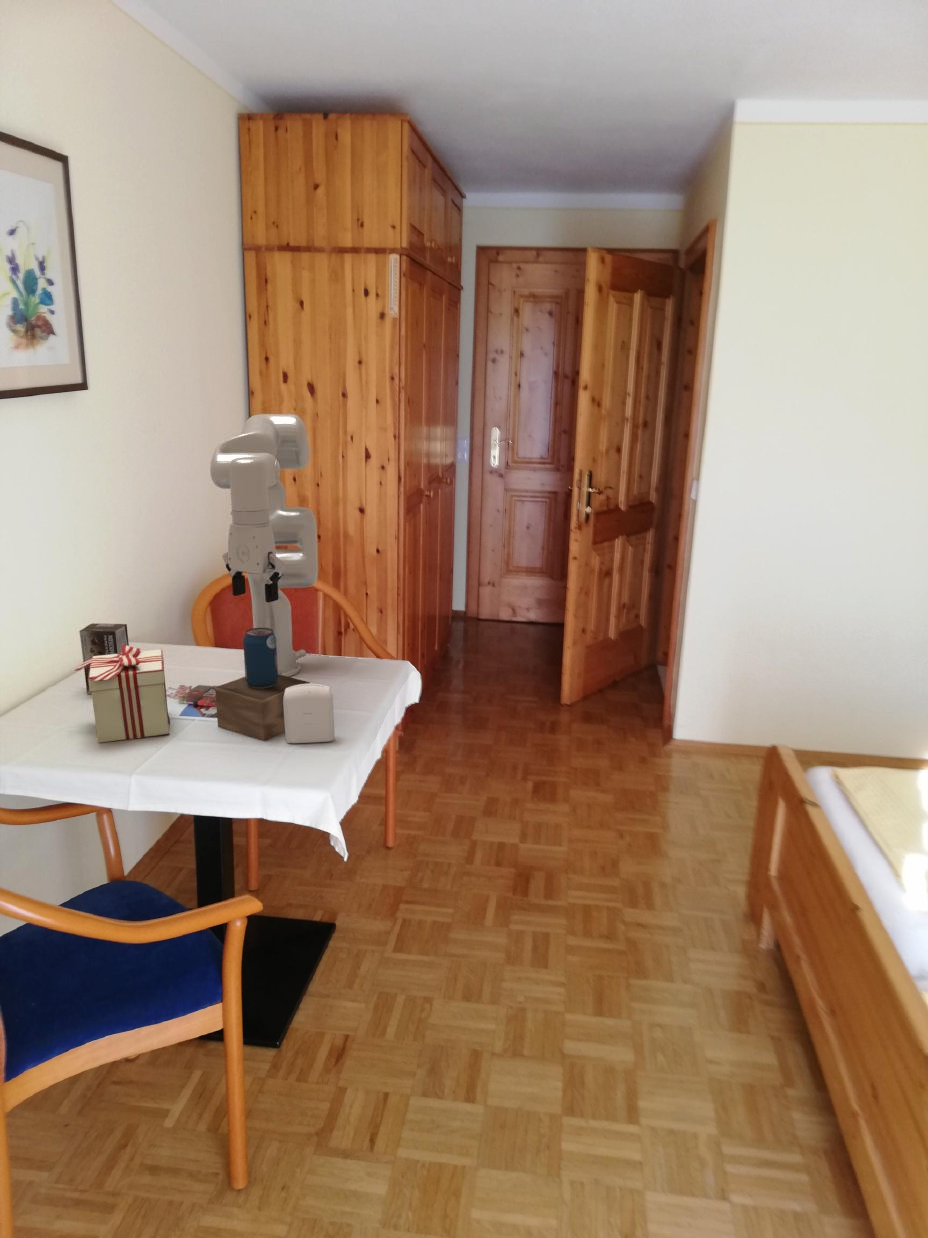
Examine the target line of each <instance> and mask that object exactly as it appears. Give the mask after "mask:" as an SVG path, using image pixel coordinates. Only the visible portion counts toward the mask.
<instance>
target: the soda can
mask: <svg viewBox="0 0 928 1238" xmlns="http://www.w3.org/2000/svg"><path fill="white" fill-rule="evenodd" d="M242 641H243V642H242V643H243V662H244V677H245V680H246V682H247V683H248V685H249V686H250V687H252V688H257V689H262V688H269V687H272V686H274V685H275V683H276V682H277V680H278V664H277V645H276V637H275V635H274V633H273V630H272V629H270V628H253V627H252V628H249V629H247V630H246V631H245V635H244V637H243V640H242Z"/></svg>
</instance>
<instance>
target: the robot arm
mask: <svg viewBox="0 0 928 1238" xmlns="http://www.w3.org/2000/svg"><path fill="white" fill-rule="evenodd" d="M310 458H311V449H310V443H309V437H308V432H307V428H306V425H305V422H304V421H303V419H302V418H301V417H300V416H299V415H297V414H293V413H262V414H261V413H260V414H254V415H253V416H250V417H249V418H248V419H246V421H245V423H244V425H243V429H242V432H241V434H240V435H239V434H238V435H237V436H234V437H232V438H229V439H227V440H224V441H222V442H221V443H219V444H218V445H217V446H216V448H215V449H214V451H213V454H212V457H211V461H210V470H209V471H210V477H211V481H212V482H213V484H214V485H215V487H217V488H220V489H224V490H225V489H226V490H227V489H230V502H231V503H230V505H231V512H230V515H231V518H232V523H230V525H229V529H228V539H227V541H228V543H227V544H228V545H227V546H228V547H227V549H228V550H227V552H225V553H224V554H223V555H222V560H223V561H224V563H225V564H224V565H225V568H226V570H227V572H228V574H229V575H228V576H229V577H230V578H231V586H232V587H231V589H232V596H233V597H237V596H241V595H244V594H246V592H247V590H246V588H247V587H246V577H245V575H243V574H244V573H245V574H246V576H247V580H248V583H249V584H248V585H249V588H250V589H249V590H250V595H251V608H252V625H253V626H252V629H253V628H270V629H272V630H273V633H274V635H275V637H276V645H277V664H278V674H280V675H284V676H288V677H293V676H295V675H296V674H298V673H299V672H300V671H301V667H300V666H301V665H300V664H299V663H298V662H297V660H299V659H301V658H305V657H306V654H307V652H306V650H305V649H300V650H297V651H295V650H294V649H293V625H292V606H291V602H290V599H289V598H288V597H287V596H286V595H285V593H284V592H283V591H282V590H281V589H287V588H289V589H290V588H291V589H292V588H310V587H313V586H314V585H315V584H316V583H317V581H318V576H319V555H318V529H317V519H316V516H315V514H314V512H313V510H311V509H310V508H308V507H303V506H296V507H295V506H293V507H291V506H288V507H287V489H286V487H285V486H284V484H283V483H282V482H281V480H280V477H281V470H301V469H304V468H306V467H307V465H309V462H310ZM276 546H297V547H298V548H297V549H296V548H295V549H294V548H293V549H289V548H288V549H276Z"/></svg>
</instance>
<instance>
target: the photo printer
mask: <svg viewBox="0 0 928 1238" xmlns="http://www.w3.org/2000/svg"><path fill="white" fill-rule="evenodd" d="M283 706H284V722H285V732H284V734H285V742H286V743H287V744H306V743H308V744H309V743H325V742H326V743H328V742H332V741H334V740H335V738H336V736H335V735H336V734H335V716H334V715H335V714H334V697H333V693H332V691H331V687H330V686H328V685H325V684H319V683H310V684H299V685H295V686H291V687H288V688H286V689H285V693H284V698H283Z"/></svg>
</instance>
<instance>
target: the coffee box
mask: <svg viewBox="0 0 928 1238" xmlns="http://www.w3.org/2000/svg"><path fill="white" fill-rule="evenodd" d="M128 634H129V633H128V624H126V623H90V624H88V625H86V626H85V627H83V628H82V629H80V630H79V639H80V646H81V654H82V664H83V663H84V662H86V661H87V660H89V659H92V656H100V655H110V654H118V653H122V646H123V645H127V646H130V643H129V636H128ZM83 670H84V671H83V672H84V680H85V686H86V687H85V689H86V695H91V696H92V692H90V691H89V682H88V677H89V670H90V665H88V666H86V667H84V668H83Z"/></svg>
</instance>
